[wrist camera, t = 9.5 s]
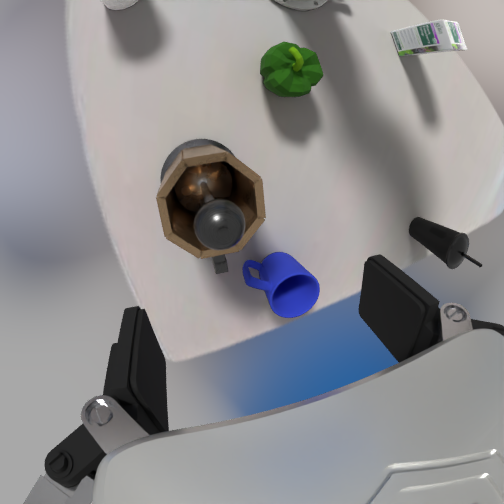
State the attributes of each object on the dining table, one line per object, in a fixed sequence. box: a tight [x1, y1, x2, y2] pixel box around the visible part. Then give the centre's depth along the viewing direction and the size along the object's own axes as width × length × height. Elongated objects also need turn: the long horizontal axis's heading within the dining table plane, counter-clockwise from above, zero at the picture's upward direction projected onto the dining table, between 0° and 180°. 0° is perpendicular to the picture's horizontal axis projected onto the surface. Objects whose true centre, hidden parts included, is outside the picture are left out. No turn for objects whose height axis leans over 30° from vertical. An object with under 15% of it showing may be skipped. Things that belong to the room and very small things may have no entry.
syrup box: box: [391, 20, 467, 56], centre depth 32 cm, size 6×6×14 cm
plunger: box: [175, 162, 245, 250], centre depth 28 cm, size 8×8×19 cm
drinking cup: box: [409, 217, 482, 269], centre depth 48 cm, size 8×8×20 cm
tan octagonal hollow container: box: [156, 139, 266, 274], centre depth 34 cm, size 12×14×18 cm
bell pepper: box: [260, 42, 323, 97], centre depth 33 cm, size 8×8×10 cm
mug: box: [243, 252, 320, 318], centre depth 46 cm, size 8×12×10 cm
